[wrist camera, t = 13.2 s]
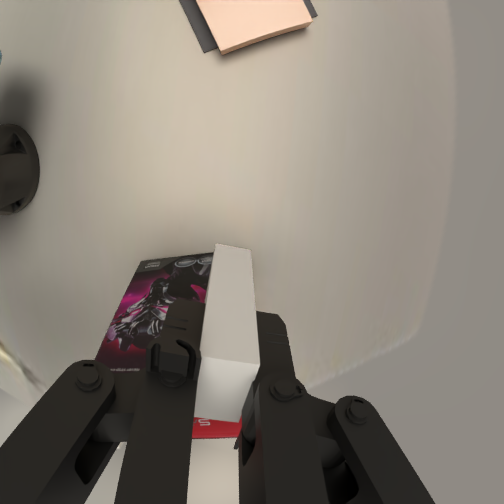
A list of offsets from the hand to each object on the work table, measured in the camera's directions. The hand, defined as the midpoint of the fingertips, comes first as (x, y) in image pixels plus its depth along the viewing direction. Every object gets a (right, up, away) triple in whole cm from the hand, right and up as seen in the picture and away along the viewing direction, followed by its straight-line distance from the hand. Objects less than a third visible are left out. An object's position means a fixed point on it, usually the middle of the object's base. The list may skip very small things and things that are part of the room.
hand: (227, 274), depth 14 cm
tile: (+3, +27, +18) cm, 33 cm away
